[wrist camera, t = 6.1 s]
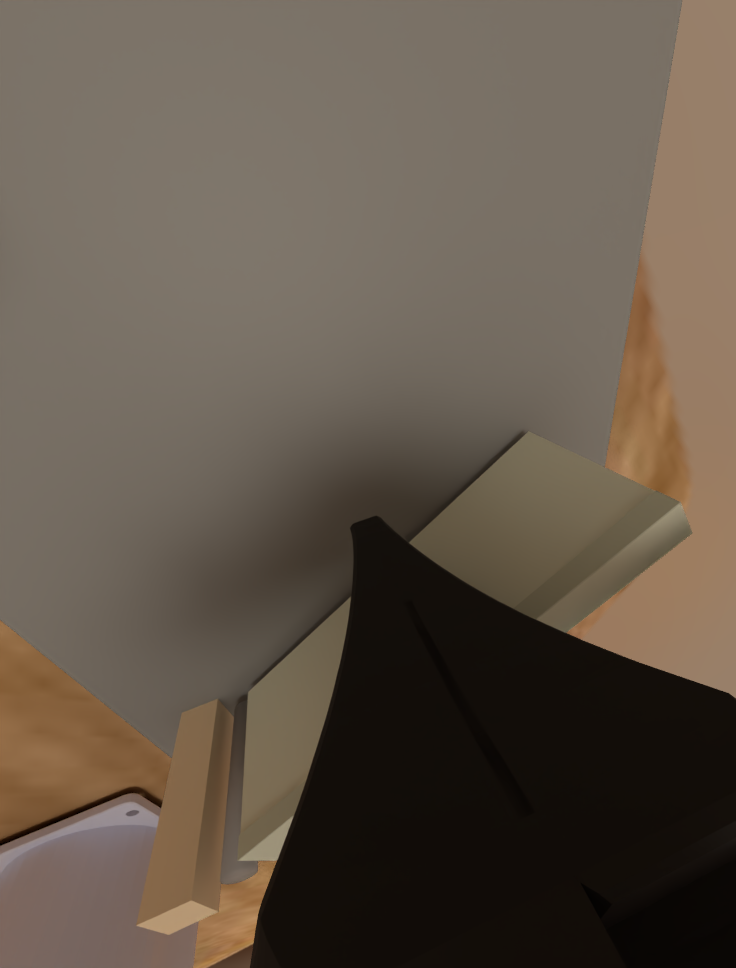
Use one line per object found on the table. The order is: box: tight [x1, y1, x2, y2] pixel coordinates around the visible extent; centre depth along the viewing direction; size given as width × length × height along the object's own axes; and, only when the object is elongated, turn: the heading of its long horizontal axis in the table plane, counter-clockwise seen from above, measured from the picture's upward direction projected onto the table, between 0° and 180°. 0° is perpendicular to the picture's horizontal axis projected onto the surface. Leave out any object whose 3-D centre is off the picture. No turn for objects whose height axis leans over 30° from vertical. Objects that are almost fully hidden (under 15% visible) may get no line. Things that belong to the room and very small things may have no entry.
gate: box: [220, 431, 692, 884], centre depth 10 cm, size 15×1×5 cm, turn 133°
